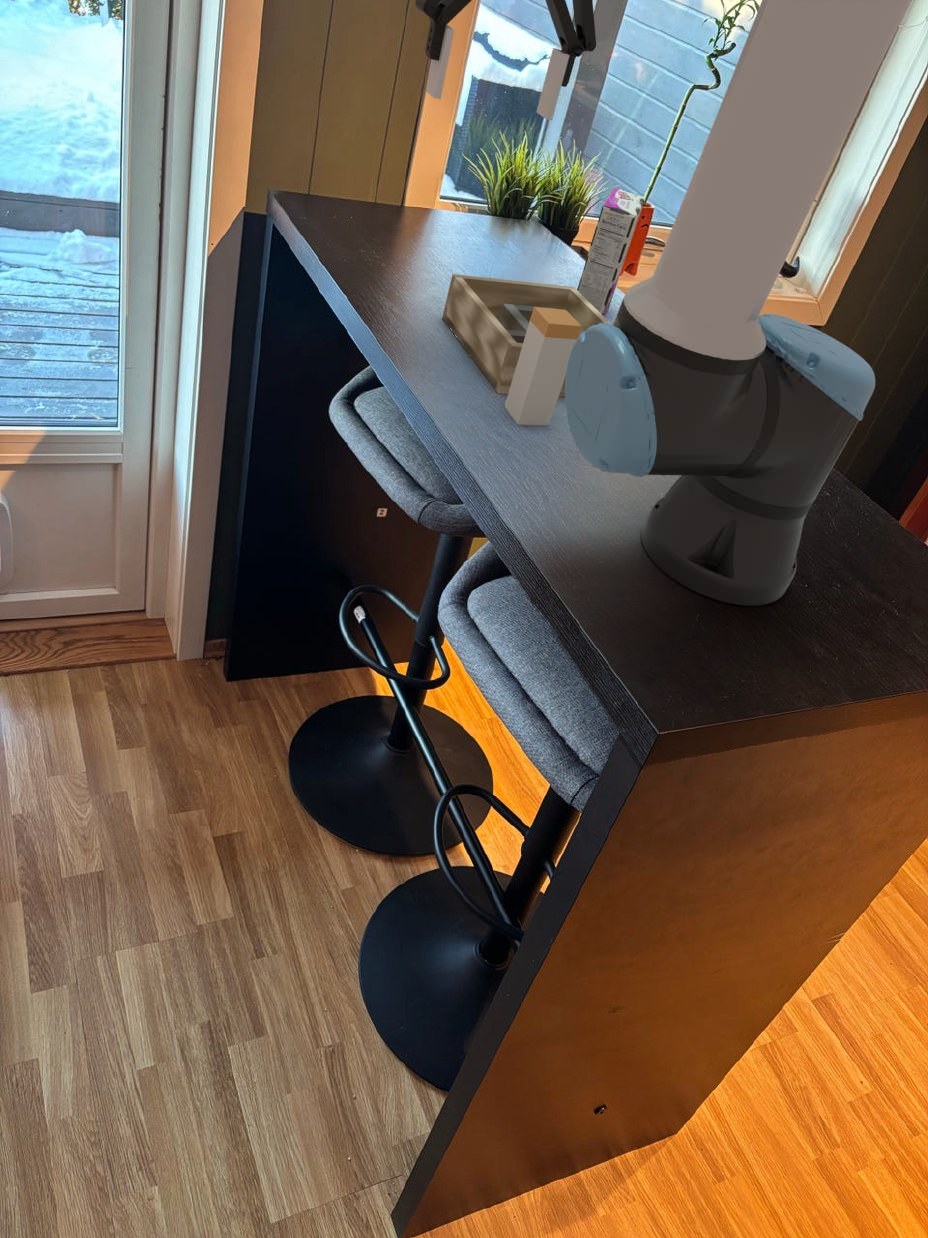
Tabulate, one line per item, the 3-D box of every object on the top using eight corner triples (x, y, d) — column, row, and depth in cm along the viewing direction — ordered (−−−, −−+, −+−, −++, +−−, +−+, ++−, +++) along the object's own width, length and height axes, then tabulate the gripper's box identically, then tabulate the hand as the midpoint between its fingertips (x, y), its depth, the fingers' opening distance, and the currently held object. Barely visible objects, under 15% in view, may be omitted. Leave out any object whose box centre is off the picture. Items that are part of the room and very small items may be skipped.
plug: (549, 425, 108) (581, 326, 101) (517, 424, 107) (549, 323, 99) (535, 408, 111) (566, 309, 104) (504, 406, 109) (533, 306, 102)
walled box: (627, 400, 119) (644, 355, 115) (498, 393, 112) (512, 346, 108) (560, 328, 132) (573, 286, 129) (442, 318, 125) (452, 273, 121)
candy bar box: (578, 297, 144) (613, 185, 134) (609, 308, 144) (647, 197, 134) (564, 320, 135) (602, 202, 125) (598, 332, 135) (638, 214, 125)
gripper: (634, -106, 99) (573, 114, 112) (412, -176, 89) (372, 75, 102) (670, -96, 94) (601, 134, 107) (439, -169, 84) (393, 95, 97)
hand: (490, 106), depth 104 cm, fingers open, 13 cm apart
